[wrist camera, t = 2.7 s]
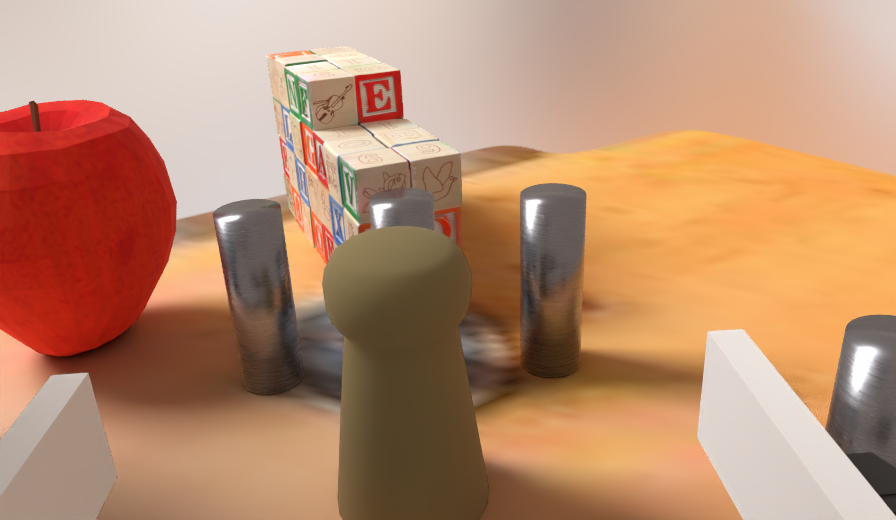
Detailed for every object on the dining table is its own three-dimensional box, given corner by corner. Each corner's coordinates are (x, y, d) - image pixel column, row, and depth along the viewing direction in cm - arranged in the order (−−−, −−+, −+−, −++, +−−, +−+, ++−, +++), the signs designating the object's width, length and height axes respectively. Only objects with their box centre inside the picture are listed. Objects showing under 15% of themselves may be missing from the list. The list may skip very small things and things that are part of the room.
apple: (161, 396, 38) (98, 128, 32) (-79, 406, 38) (-183, 140, 32) (221, 287, 48) (183, 73, 43) (35, 295, 48) (-28, 82, 43)
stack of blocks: (467, 304, 45) (460, 96, 40) (365, 328, 43) (344, 112, 38) (361, 195, 63) (347, 42, 58) (286, 208, 61) (265, 50, 56)
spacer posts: (149, 648, 25) (82, 417, 21) (251, 358, 41) (223, 197, 37) (916, 596, 25) (985, 363, 21) (720, 330, 41) (740, 169, 37)
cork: (514, 520, 29) (513, 256, 25) (360, 570, 27) (327, 294, 23) (455, 430, 34) (445, 198, 30) (322, 467, 32) (289, 225, 28)
